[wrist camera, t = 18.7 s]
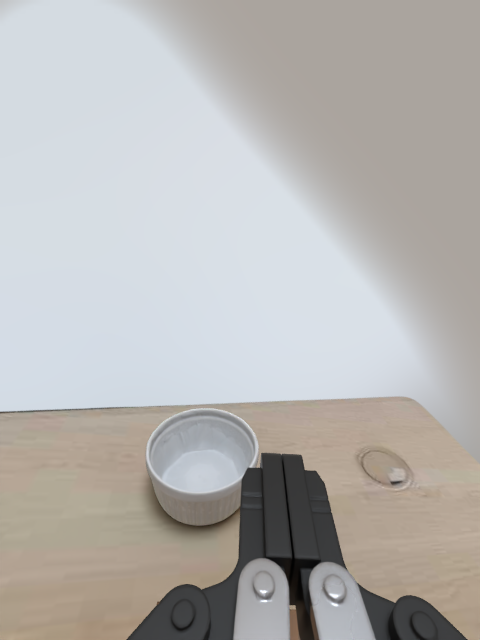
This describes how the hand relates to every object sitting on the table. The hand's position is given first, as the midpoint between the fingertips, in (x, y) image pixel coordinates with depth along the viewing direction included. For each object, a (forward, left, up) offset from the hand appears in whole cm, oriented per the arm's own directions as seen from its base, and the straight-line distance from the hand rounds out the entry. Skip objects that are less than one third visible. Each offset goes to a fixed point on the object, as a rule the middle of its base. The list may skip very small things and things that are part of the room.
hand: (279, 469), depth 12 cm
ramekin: (+20, +2, -26) cm, 33 cm away
